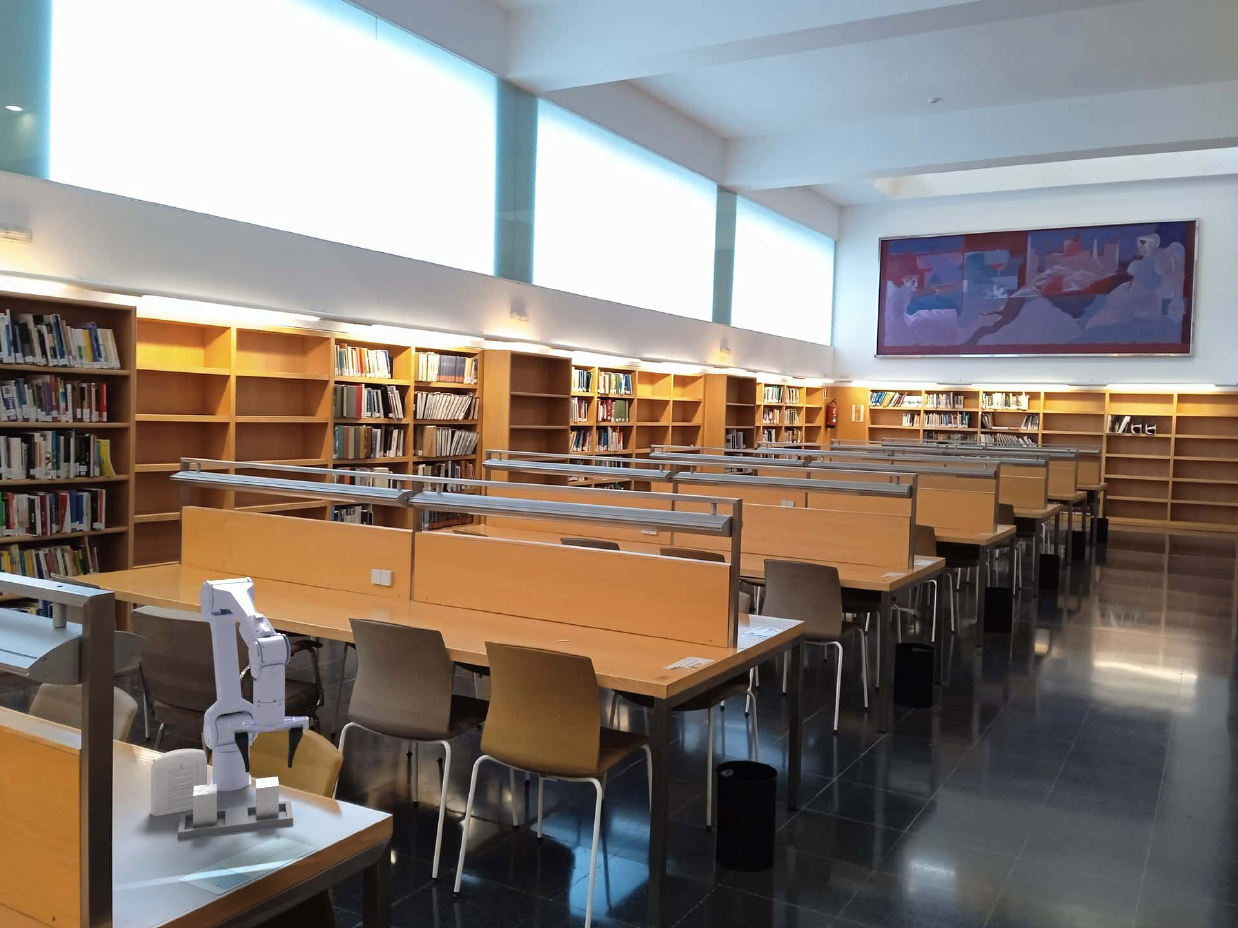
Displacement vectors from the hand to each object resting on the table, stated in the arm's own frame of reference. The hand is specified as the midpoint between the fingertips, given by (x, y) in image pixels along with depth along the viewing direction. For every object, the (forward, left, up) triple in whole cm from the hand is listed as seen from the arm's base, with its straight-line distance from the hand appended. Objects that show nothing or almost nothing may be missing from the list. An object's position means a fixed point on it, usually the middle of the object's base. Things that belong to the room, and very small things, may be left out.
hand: (268, 768), depth 187 cm
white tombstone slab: (-11, -16, -11) cm, 22 cm away
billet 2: (0, 0, -10) cm, 10 cm away
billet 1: (0, -11, -10) cm, 15 cm away
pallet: (0, -6, -10) cm, 12 cm away
